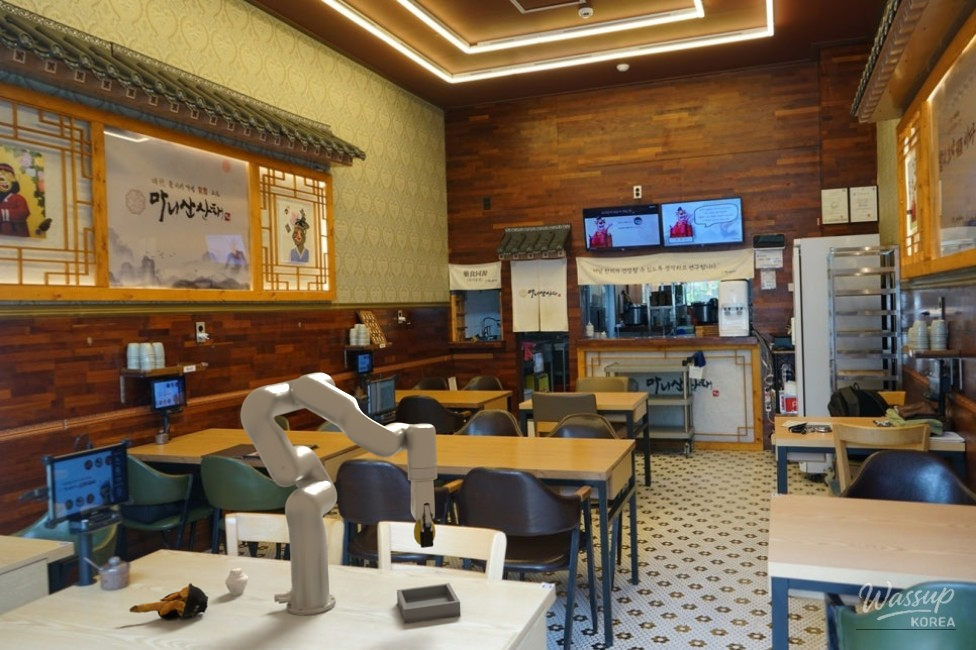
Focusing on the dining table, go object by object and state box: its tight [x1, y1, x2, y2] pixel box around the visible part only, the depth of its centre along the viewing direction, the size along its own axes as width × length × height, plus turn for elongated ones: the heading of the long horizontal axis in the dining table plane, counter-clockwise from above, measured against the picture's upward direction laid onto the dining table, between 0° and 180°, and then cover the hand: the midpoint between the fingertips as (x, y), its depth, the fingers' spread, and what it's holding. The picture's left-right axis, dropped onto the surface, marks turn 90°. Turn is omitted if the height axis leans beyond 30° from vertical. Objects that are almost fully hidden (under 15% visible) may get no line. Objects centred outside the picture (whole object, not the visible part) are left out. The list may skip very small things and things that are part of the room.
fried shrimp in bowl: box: [129, 582, 209, 621], centre depth 189 cm, size 9×11×18 cm
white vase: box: [224, 567, 249, 595], centre depth 206 cm, size 6×6×7 cm
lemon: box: [413, 517, 436, 548], centre depth 188 cm, size 6×6×8 cm
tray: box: [396, 582, 462, 625], centre depth 188 cm, size 14×14×4 cm
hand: (424, 542), depth 188 cm, fingers closed on lemon, 5 cm apart
